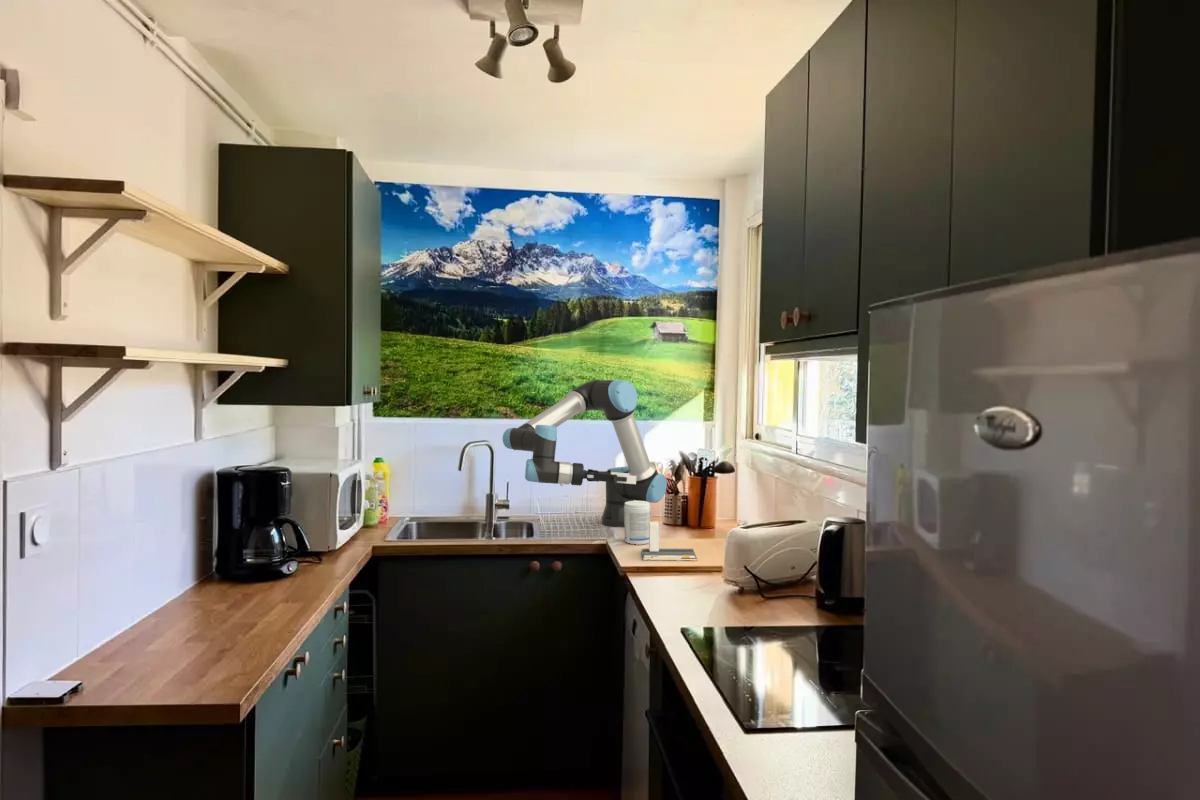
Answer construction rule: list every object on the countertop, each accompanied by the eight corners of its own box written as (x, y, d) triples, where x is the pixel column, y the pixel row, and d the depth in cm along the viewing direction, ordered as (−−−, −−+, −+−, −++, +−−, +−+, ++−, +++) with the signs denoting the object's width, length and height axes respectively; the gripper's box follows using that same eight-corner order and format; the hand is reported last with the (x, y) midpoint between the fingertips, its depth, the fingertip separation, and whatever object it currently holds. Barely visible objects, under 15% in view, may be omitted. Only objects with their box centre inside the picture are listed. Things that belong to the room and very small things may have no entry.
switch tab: (649, 551, 252) (649, 521, 251) (657, 551, 252) (658, 521, 251) (649, 554, 247) (650, 524, 246) (658, 555, 247) (659, 524, 246)
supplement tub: (655, 542, 268) (655, 502, 267) (638, 546, 262) (638, 506, 261) (636, 537, 275) (636, 499, 274) (618, 542, 269) (618, 502, 268)
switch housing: (641, 551, 255) (641, 546, 255) (692, 551, 255) (693, 546, 255) (643, 560, 243) (643, 555, 243) (697, 560, 243) (697, 555, 243)
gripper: (566, 482, 259) (625, 486, 262) (573, 487, 235) (638, 492, 237) (568, 461, 260) (627, 465, 262) (575, 464, 235) (640, 469, 238)
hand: (632, 478), depth 250 cm, fingers open, 13 cm apart
